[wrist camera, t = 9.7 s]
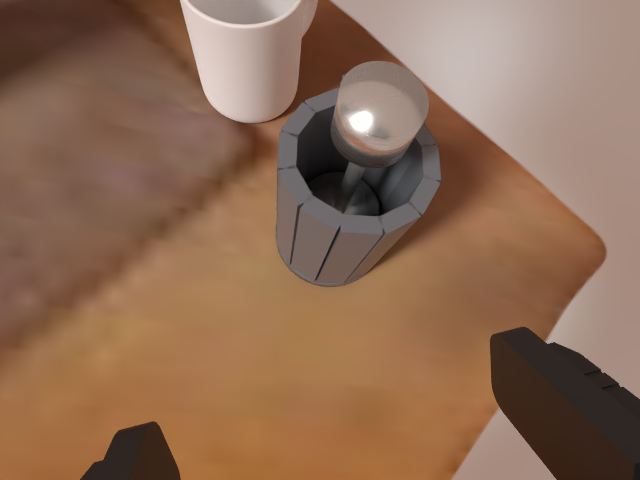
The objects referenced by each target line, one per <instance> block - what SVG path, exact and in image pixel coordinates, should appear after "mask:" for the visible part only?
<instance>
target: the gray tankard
mask: <svg viewBox="0 0 640 480" xmlns="http://www.w3.org/2000/svg"><path fill="white" fill-rule="evenodd" d="M344 76H345V74H343V76H342V80H343V78H344ZM342 80H341V82H342ZM340 85H341V84H340ZM338 93H339V88H336V89H333V90H330V91H328V92H325V93H323V94H320V95H317V96H315V97H312V98H309V99H307V100H305V103H303V102H302V103H301V104H300V106H299V107H298V108H297V109H296V111H295V112H294V113H293V114H292V116H291V117H290V118H289V119H288V121H287V122H286V123H285V125H284V126H283V127H282V128H281V132H280V136H279V151H278V166H277V224H276V241H277V247H278V250H279V253H280V255H281V257H282V259H283V261H284V262H285V264H286V265H287V266H288V268H289V269H290V270H291V271H292V272H293V273H294V274H295V275H297V276H298V277H300V278H301V279H303V280H305V281H307V282H309V283H311V284H314V285H318V286H324V287H337V286H344V285H346V284H349V283H352V282H354V281H356V280H358V279H359V278H361V277H362V276H363V275H365V274H366V273H367V272H368V271H369V270H370V269H371V268H372V267H373V266H374V265H375V264H376V263H377V262H378V261H379V260H380V259H381V258H382V257H383V255H384V254H385V253H386V252H387V251H388V250H389V249H390V248H391V247H392V246H393V245H394V244H395V243H396V242H397V241H398V240H399V239H400V238H401V237H402V236H403V235H404V234H405V233H406V232H407V231H408V230H409V229H410V228H411V226H412V225H413V224H414V223H415V222H416V221H417V220H418V219H419V218H420V217H421V216H422V215H423V214H424V212H425V211H426V209H427V207H428V205H429V203H430V202H431V200H432V198H433V196H434V194H435V193H436V191H437V189H438V187H439V185H440V184H441V183H439V182H440V181H441V171H440V160H439V148H438V145H436V143H437V142H436V140H435V139H434V137H433V136H432V134H431V133H430V131H429V130H428V129H427V127H426V126H425V124H424V123H423V124H422V126H421V127H420V129H419V131H418V132H417V134H416V136H415V137H414V139H413V140H412V142H411V144H410V145H409V147H408V149H407V150H406V152H405V154H404V155H403V156H402V158H401V159H400V160H398V161H397V162H396V163H394V164H392V165H390V166H388V167H384V168H378V169H370V168H365V170H364V172H363V174H362V177H361V180H363V181H364V182H365V183H366V184H367V185H368V186H369V187H370V188H371V189H372V191H373V192H374V194H375V196H376V198H377V200H378V204H379V217H378V216H363V215H347V214H342V213H341V212H339V211H338V210H336V209H334V208H333V207H331V206H329V205H328V204H326V203H324V202H323V201H321V200H319V199H318V198H316V197H314V196H313V195H312V193H311V191H310V190H309V188H308V186H307V185H308V184H309V183H310V182H311V181H312V180H313V179H315V178H316V177H318V176H320V175H323V174H326V173H331V172H342V173H345V172H346V170H347V167H348V164H349V161H348V160H347V159H345V158H344V157H343V156H342V155H341V154H340V153H339V152H338V150H337V149H336V147H335V145H334V143H333V141H332V137H331V123H332V119H333V115H334V110H335V106H336V102H337V97H338Z"/></svg>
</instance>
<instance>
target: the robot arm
mask: <svg viewBox="0 0 640 480" xmlns="http://www.w3.org/2000/svg"><path fill="white" fill-rule="evenodd" d="M490 354H491V381H492V389H493V393H494V396H495V399H496V401H497V403H498V405H499V407H500V408H501V410H502V411H503V413H504V414H505V415H506V416H507V418H508V419H509V420H510V422H511V423H512V424H513V425H514V427H515V428H516V429H517V430H518V432H519V433H520V434H521V435H522V437H523V438H524V439H525V440H526V442H527V443H528V444H529V445H530V447H531V448H532V449H533V450H534V452H535V453H536V454H537V455H538V457H539V458H540V459H541V460H542V462H543V463H544V464H545V465H546V467H547V468H548V469H549V470H550V472H551V473H552V474H553V476H554V477H555V478H556V479H557V480H640V399H638V398H637V397H636V396H634V395H633V394H632V393H631V392H629V391H628V390H627V389H625V388H624V387H620V386H619V384H618V382H616V381H615V380H614V379H612V378H611V377H610V376H608V375H607V374H606V373H602V372H601V369H599V368H598V367H596V366H595V365H594V364H593V363H592V362H590V361H589V360H588V359H586V358H585V357H584V356H582V355H581V354H580V353H578V352H575V351H573V350H571V349H568V348H566V347H564V346H561V345H559V344H557V343H555V342H553V343H550V344H547V343H545V342H544V341H543V340H542V339H541V338H539V337H538V336H537V335H536V334H534V333H533V332H532V331H531V330H529V329H528V328H526V327H520V328H516V329H512V330H508V331H504V332H500V333H496V334H493V335H492V336H491V339H490ZM80 480H181V479H180V473H179V470H178V467H177V465H176V462H175V460H174V458H173V456H172V453H171V451H170V449H169V447H168V444H167V442H166V440H165V438H164V435H163V433H162V431H161V429H160V427H159V425H158V424H157V423H156V422H149V423H145V424H141V425H137V426H133V427H130V428H126V429H122V430H119V431H118V432H117V433H116V434H115V435H114V437H113V439H112V442H111V444H110V446H109V448H108V451H107V453H106V455H105V457H104V460H102V461H98V462H94V463H93V465H92V466H91V467H90V468H89V469H88V471H87V472H86V473H85V474H84V475H83V477H82V478H81V479H80Z"/></svg>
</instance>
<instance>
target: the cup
mask: <svg viewBox="0 0 640 480" xmlns="http://www.w3.org/2000/svg"><path fill="white" fill-rule="evenodd" d="M180 3H181V7H182V10H183V14H184V18H185V22H186V26H187V30H188V34H189V37H190V41H191V45H192V49H193V53H194V57H195V61H196V64H197V68H198V72H199V76H200V80H201V84H202V87H203V90H204V93H205V95H206V97H207V99H208V100H209V102H210V103H211V105H212V106H213V107H214V108H215V109H216V110H217V111H219V112H220V113H221V114H223V115H224V116H226V117H228V118H230V119H232V120H235V121H239V122H243V123H261V122H265V121H269V120H271V119H274V118H276V117H277V116H279V115H281V114H282V113H283V112H284V111H286V109H287V108H288V107H289V106H290V105H291V103H292V102H293V100H294V98H295V95H296V91H297V86H298V78H299V65H300V53H301V40H302V37H303V36H304V35H305V33H306V32H307V30H308V29H309V27H310V25H311V23H312V20H313V18H314V15H315V11H316V7H317V3H318V0H180ZM304 3H305V4H304Z"/></svg>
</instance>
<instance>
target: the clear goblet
mask: <svg viewBox="0 0 640 480" xmlns="http://www.w3.org/2000/svg"><path fill="white" fill-rule="evenodd" d="M428 110H429V99H428V95H427V92H426V90H425V88H424V86H423V84H422V83H421V81H420V80H419V79H418V78H417V77H416V76H415V75H414V74H413V73H411V72H410V71H409V70H407V69H406V68H404V67H402V66H400V65H397V64H394V63H391V62H386V61H370V62H365V63H362V64H359V65H357V66H355V67H354V68H352V69H351V70H350V71H349V72H348V73H347V74H346V75H345V76H344V78H343V80H342V82H341V85H340V89H339V93H338V97H337V102H336V106H335V110H334V115H333V119H332V123H331V137H332V141H333V143H334V145H335V147H336V149H337V150H338V152H339V153H340V154H341V155H342V156H343V157H344V158H345V159H347V160H348V161H349V164H348V167H347V170H346V172H345V173H342V172H331V173H326V174H323V175H320V176H318V177H316V178H315V179H313V180H312V181H311V182H310V183H309V184H308V185H307V186H308V188H309V190H310V191H311V193H312V195H313V196H314V197H316V198H318V199H319V200H321V201H323V202H324V203H326V204H328V205H329V206H331V207H333V208H334V209H336V210H338V211H339V212H341V213H342V214H347V215H363V216H378V217H379V204H378V200H377V198H376V196H375V194H374V192H373V191H372V189H371V188H370V187H369V186H368V185H367V184H366V183H365V182H364V181H363V180H361V177H362V174H363V172H364V170H365V168H370V169H378V168H384V167H388V166H390V165H392V164H394V163H396V162H397V161H398V160H400V159H401V158H402V156H403V155H404V154H405V152H406V150H407V149H408V147H409V145H410V144H411V142H412V140H413V139H414V137H415V136H416V134H417V132H418V131H419V129H420V127H421V126H422V124H423V122H424V121H425V119H426V117H427V114H428Z"/></svg>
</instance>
